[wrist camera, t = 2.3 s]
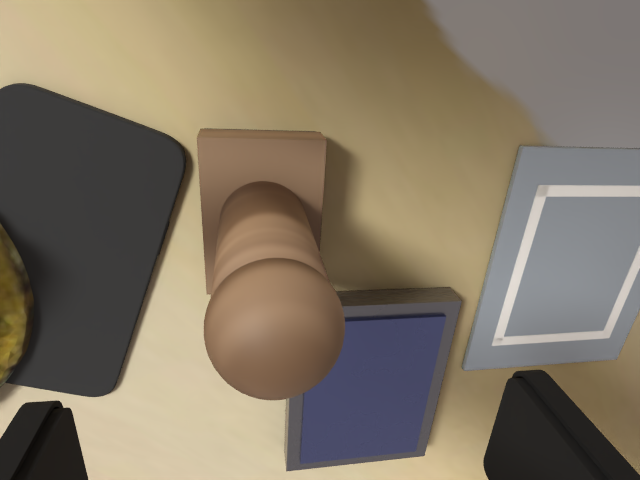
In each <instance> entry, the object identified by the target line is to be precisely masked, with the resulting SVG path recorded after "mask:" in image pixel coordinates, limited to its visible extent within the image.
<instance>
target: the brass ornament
mask: <svg viewBox="0 0 640 480" xmlns="http://www.w3.org/2000/svg"><path fill="white" fill-rule="evenodd" d="M33 320H34V298H33V294H32V289H31V285H30V281H29V278H28V275H27V272H26V269H25V266H24V264H23V261H22V259H21V257H20V255H19V253H18V251H17V249H16V247H15V245H14V244H13V242H12V240H11V239H10V237H9V236H8V234H7V232H6V231H5V230H4V228H3V227H2V225H1V224H0V387H1V386H2V385H3V384H4V383H5V382H6V381H7V379H8V378H9V377H10V375H11V374H12V373H13V371H14V369H15V368H16V366H17V365H18V364H19V362H20V361H21V359H22V357H23V356H24V354H25V352H26V351H27V348H28V345H29V341H30V338H31V334H32V328H33Z"/></svg>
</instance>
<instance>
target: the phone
mask: <svg viewBox="0 0 640 480" xmlns="http://www.w3.org/2000/svg"><path fill="white" fill-rule="evenodd" d="M185 167H186V156H185V152H184V150H183V148H182V146H181V145H180V144H179V143H178V142H177V141H176V140H175V139H174V138H172V137H171V136H169V135H167V134H165V133H162V132H160V131H157V130H155V129H152V128H149V127H147V126H144V125H141V124H139V123H136V122H133V121H131V120H128V119H125V118H123V117H120V116H117V115H115V114H112V113H109V112H106V111H104V110H101V109H98V108H96V107H93V106H90V105H88V104H85V103H82V102H79V101H77V100H74V99H71V98H69V97H66V96H63V95H60V94H58V93H55V92H52V91H49V90H47V89H44V88H41V87H38V86H35V85H31V84H25V83H17V84H12V85H8V86H5V87H3V88H2V89H0V224H1V225H2V227H3V228H4V230H5V231H6V232H7V234H8V236H9V237H10V239H11V240H12V242H13V244H14V245H15V247H16V249H17V251H18V253H19V255H20V257H21V259H22V261H23V264H24V266H25V269H26V272H27V275H28V278H29V281H30V285H31V289H32V294H33V298H34V320H33V328H32V334H31V338H30V341H29V345H28V348H27V351H26V352H25V354H24V356H23V357H22V359H21V361H20V362H19V364H18V365H17V366H16V368H15V369H14V371H13V373H12V374H11V375H10V377H9V378H8V379H7V381H6V382H5V383H10V384H16V385H22V386H28V387H33V388H39V389H45V390H51V391H57V392H63V393H68V394H74V395H81V396H87V397H99V396H104V395H106V394H108V393H110V392H111V391H112V390H113V389H114V387H115V385H116V383H117V380H118V377H119V374H120V371H121V368H122V365H123V362H124V359H125V356H126V353H127V350H128V347H129V343H130V340H131V337H132V334H133V331H134V328H135V325H136V322H137V319H138V315H139V312H140V309H141V306H142V303H143V300H144V297H145V294H146V291H147V287H148V284H149V281H150V278H151V275H152V272H153V269H154V266H155V263H156V259H157V256H158V255H159V254H160V251H161V247H162V244H163V241H164V238H165V235H166V232H167V229H168V226H169V223H170V222H169V219H170V216H171V213H172V210H173V207H174V203H175V200H176V197H177V194H178V191H179V188H180V185H181V182H182V179H183V175H184V172H185Z"/></svg>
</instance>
